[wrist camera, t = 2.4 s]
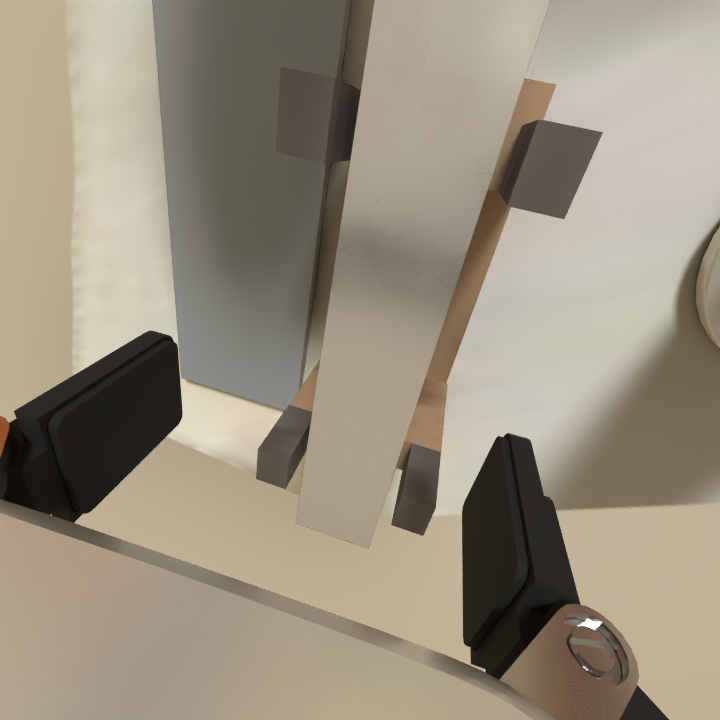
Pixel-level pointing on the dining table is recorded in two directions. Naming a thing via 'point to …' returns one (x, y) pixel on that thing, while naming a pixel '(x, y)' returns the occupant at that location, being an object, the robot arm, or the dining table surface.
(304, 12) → the rubber mat
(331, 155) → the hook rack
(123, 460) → the robot arm
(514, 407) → the dining table surface
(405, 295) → the steel bar
